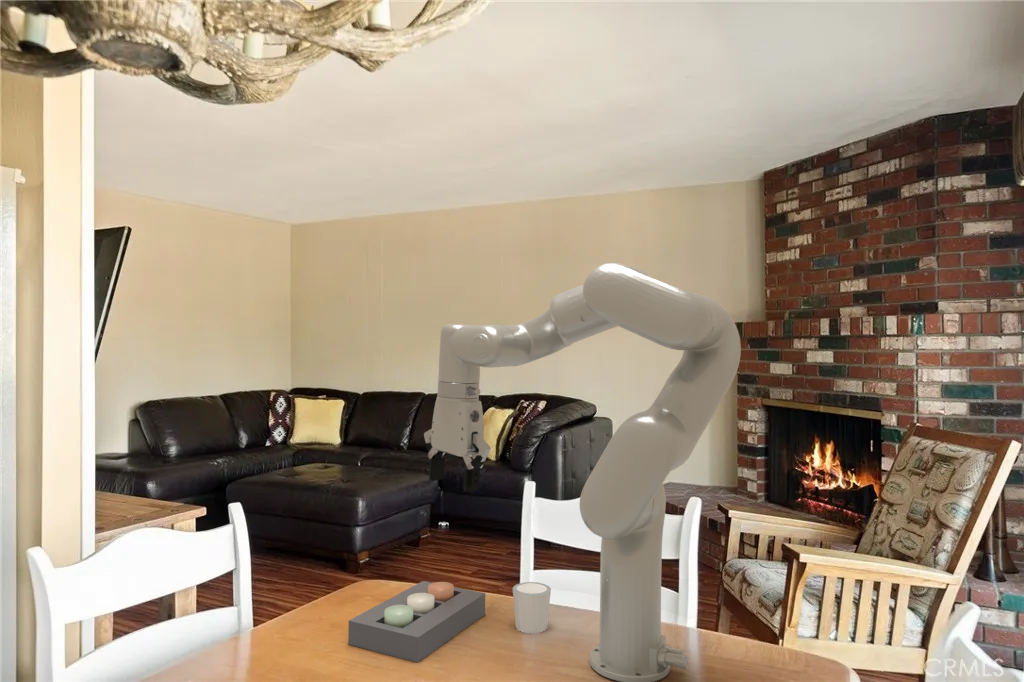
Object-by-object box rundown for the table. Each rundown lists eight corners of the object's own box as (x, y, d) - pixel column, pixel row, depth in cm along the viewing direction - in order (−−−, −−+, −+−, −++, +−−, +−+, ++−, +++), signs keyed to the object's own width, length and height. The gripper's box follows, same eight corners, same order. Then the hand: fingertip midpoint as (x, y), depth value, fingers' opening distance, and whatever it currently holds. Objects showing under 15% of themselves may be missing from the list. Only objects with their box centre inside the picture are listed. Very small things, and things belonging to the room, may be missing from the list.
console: (485, 614, 128) (485, 593, 128) (417, 662, 108) (417, 637, 109) (422, 601, 134) (423, 580, 134) (348, 644, 115) (348, 620, 115)
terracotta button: (458, 600, 128) (458, 584, 128) (444, 609, 124) (444, 592, 124) (436, 596, 131) (437, 580, 131) (422, 604, 126) (422, 588, 126)
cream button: (439, 612, 123) (439, 595, 123) (424, 622, 118) (424, 604, 118) (417, 607, 125) (417, 591, 125) (401, 616, 120) (401, 599, 120)
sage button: (418, 625, 117) (418, 607, 117) (401, 636, 112) (402, 617, 112) (395, 620, 119) (395, 602, 119) (378, 630, 115) (378, 612, 115)
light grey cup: (551, 635, 119) (551, 595, 119) (511, 634, 119) (512, 594, 119) (549, 619, 126) (550, 581, 126) (512, 619, 126) (512, 581, 126)
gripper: (506, 396, 122) (501, 492, 122) (443, 386, 134) (439, 473, 134) (474, 397, 116) (469, 497, 117) (412, 387, 128) (408, 478, 129)
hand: (453, 484), depth 125 cm, fingers open, 9 cm apart
